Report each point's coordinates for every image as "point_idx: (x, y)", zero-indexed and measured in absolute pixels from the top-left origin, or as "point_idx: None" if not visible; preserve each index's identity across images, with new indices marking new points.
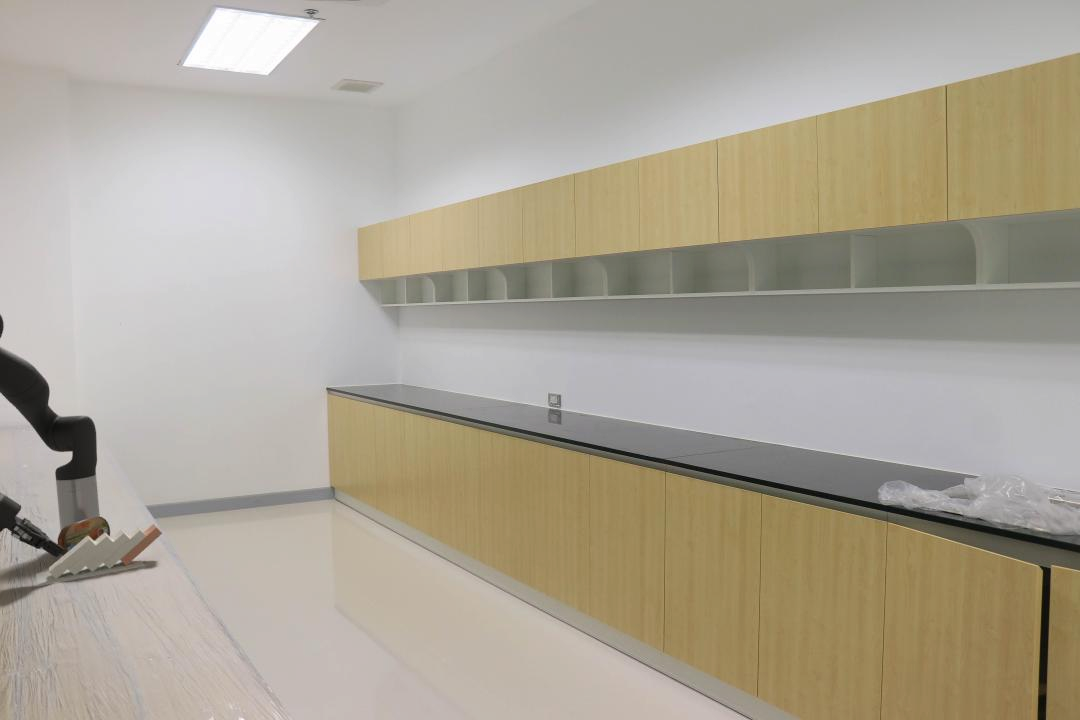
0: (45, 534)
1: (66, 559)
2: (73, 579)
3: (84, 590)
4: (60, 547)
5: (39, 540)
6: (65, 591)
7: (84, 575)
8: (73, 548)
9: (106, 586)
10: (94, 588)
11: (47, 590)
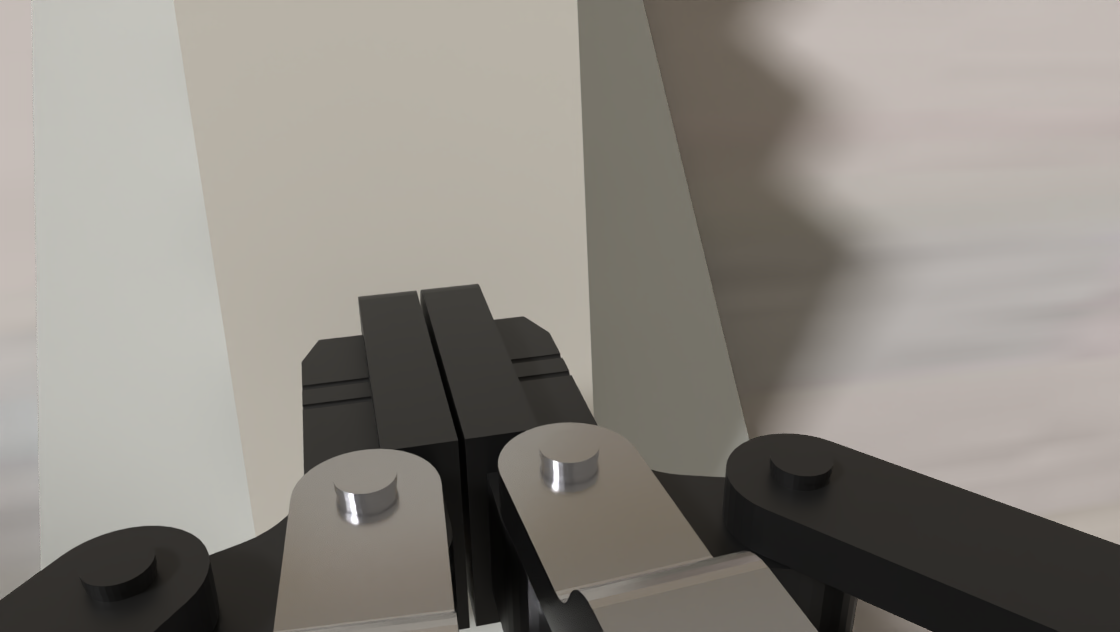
0: (144, 555)
1: (586, 294)
2: (714, 303)
3: (1104, 195)
4: (483, 308)
5: (836, 602)
6: (1065, 352)
7: (608, 206)
8: (290, 173)
9: (1054, 37)
10: (1075, 121)
11: None
